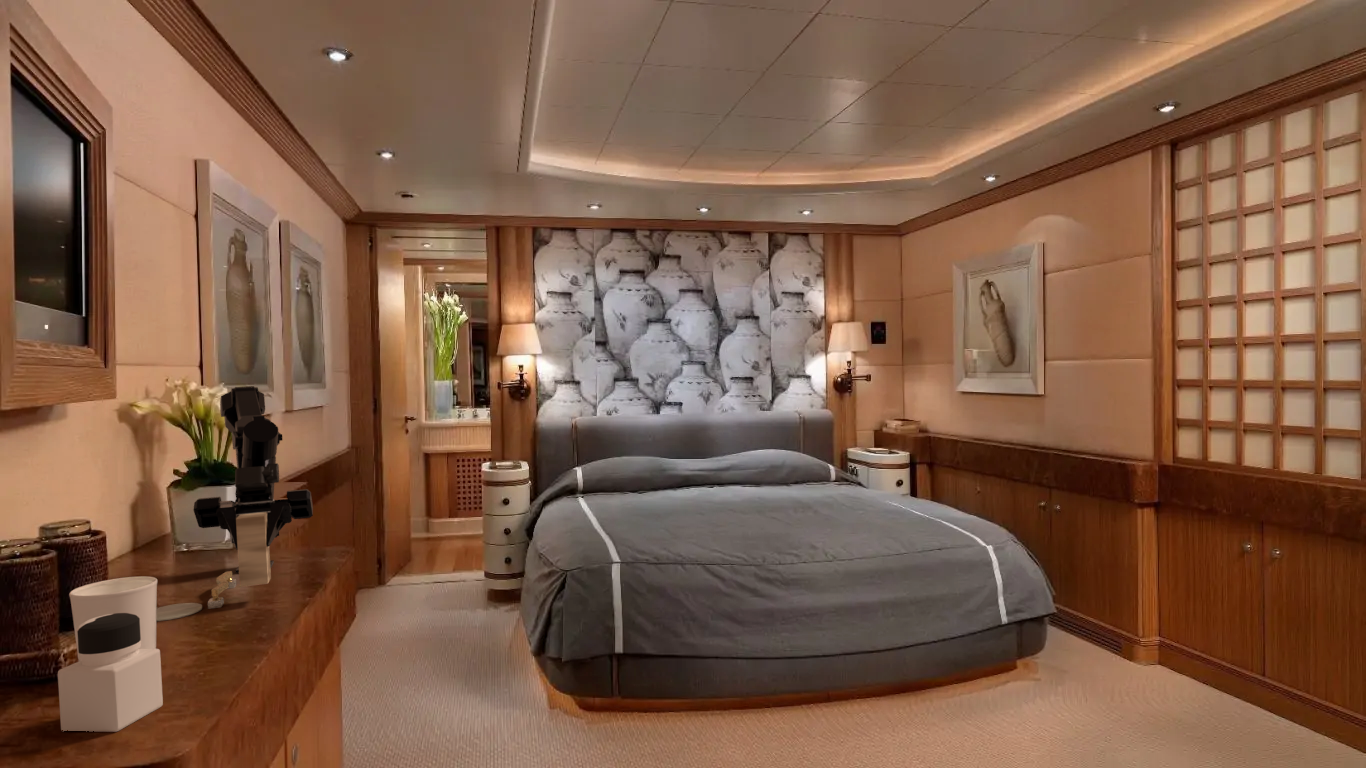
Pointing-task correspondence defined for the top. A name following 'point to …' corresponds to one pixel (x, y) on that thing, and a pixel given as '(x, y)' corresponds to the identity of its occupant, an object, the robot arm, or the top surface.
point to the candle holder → (119, 603)
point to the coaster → (177, 611)
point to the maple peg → (253, 549)
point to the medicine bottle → (109, 677)
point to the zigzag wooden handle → (221, 589)
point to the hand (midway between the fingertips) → (252, 546)
